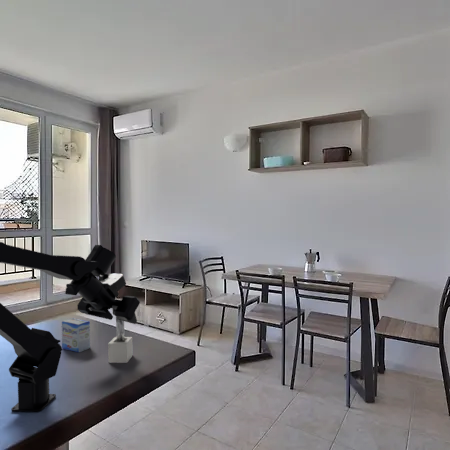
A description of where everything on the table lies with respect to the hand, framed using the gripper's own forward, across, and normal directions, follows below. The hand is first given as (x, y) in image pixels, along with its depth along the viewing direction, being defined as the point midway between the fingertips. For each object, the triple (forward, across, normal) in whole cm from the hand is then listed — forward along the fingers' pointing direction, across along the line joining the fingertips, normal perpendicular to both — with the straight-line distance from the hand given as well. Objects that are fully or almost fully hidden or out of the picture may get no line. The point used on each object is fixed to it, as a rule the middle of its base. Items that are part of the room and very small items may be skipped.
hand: (123, 320), depth 101 cm
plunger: (+4, 0, +6) cm, 7 cm away
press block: (+7, 0, +9) cm, 11 cm away
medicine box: (+7, +19, +9) cm, 22 cm away
